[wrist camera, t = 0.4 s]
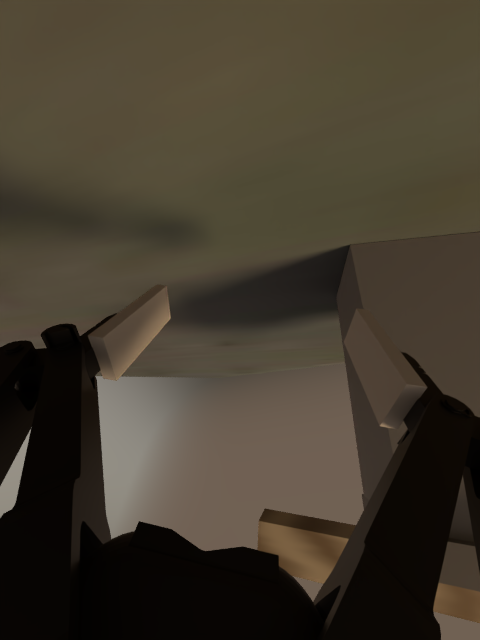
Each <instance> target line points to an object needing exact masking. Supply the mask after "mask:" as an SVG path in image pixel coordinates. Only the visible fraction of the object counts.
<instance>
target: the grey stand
mask: <svg viewBox="0 0 480 640" xmlns="http://www.w3.org/2000/svg"><path fill="white" fill-rule="evenodd" d="M336 299H337V306H338V313H339V321H340V328H341V335H342V342H343V349H344V356H345V363H346V371H347V378H348V385H349V392H350V399H351V406H352V414H353V421H354V428H355V434H356V442H357V449H358V456H359V463H360V470H361V478H362V485H363V492H364V494H362V499H363V506H364V510H365V508H366V506H367V504H368V502H369V500H370V498H371V496H372V494H373V492H374V490H375V489H376V487H377V485H378V483H379V481H380V479H381V477H382V475H383V473H384V471H385V470H386V468H387V466H388V464H389V462H390V460H391V458H392V456H393V454H394V452H395V450H396V449H397V447H398V444H397V443H398V441H399V440H400V439H401V437H402V436H403V435H404V433H405V432H406V431H407V429H408V428H407V426H406V425H405V423H404V421H403V422H402V423H401V425H400V426H399V428H398V429H393V428H387V427H381V426H379V423H378V421H377V419H376V416H375V414H374V412H373V409H372V407H371V405H370V402H369V400H368V398H367V395H366V393H365V391H364V388H363V386H362V384H361V381H360V379H359V377H358V374H357V372H356V370H355V367H354V365H353V363H352V360H351V358H350V356H349V353H348V351H347V349H346V346H345V344H344V340H345V337H346V335H347V332H348V330H349V327H350V324H351V322H352V319H353V316H354V314H355V311H356V308H357V309H365V310H369V311H370V312H371V314H372V315H373V316H374V318H375V319H376V320H377V322H378V323H379V324H380V325H381V327H382V328H383V329H384V331H385V332H386V333H387V335H388V336H389V337H390V339H391V340H392V341H393V343H394V344H395V345H396V347H397V348H398V349H399V351H400V352H404V353H407V354H409V355H410V356H411V357H413V358H414V359H415V360H416V361H417V362H418V363H419V365H420V366H421V368H423V369H424V371H425V372H426V374H427V375H428V376H429V377H430V378H431V379H432V381H433V382H434V383H435V384H436V385H437V387H438V388H439V389H440V390H441V392H442V393H443V394H445V395H449V396H451V397H454V398H456V399H458V400H459V401H461V402H463V403H464V404H465V405H466V406H468V407H469V408H470V409H471V410H472V412H473V413H474V415H475V416H477V417H480V232H474V233H464V234H454V235H444V236H433V237H423V238H413V239H403V240H393V241H383V242H373V243H363V244H353V245H350V247H349V251H348V255H347V259H346V262H345V266H344V270H343V274H342V277H341V281H340V285H339V289H338V293H337V296H336ZM439 583H443V584H447V585H452V586H456V587H461V588H465V589H469V590H474V591H478V592H480V573H479V567H478V561H477V555H476V549H475V543H474V538H473V532H472V526H471V520H470V514H469V509H468V503H467V497H466V491H465V485H464V480H463V476H462V480H461V485H460V489H459V494H458V498H457V503H456V507H455V512H454V516H453V521H452V525H451V530H450V534H449V539H448V543H447V548H446V552H445V557H444V561H443V566H442V570H441V575H440V579H439Z"/></svg>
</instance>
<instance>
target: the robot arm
mask: <svg viewBox="0 0 480 640" xmlns="http://www.w3.org/2000/svg"><path fill="white" fill-rule="evenodd" d="M170 319H171V316H170V308H169V299H168V291H167V286H166V285H158V284H157V285H155V286H154V287H153V288H151V289H150V290H149V291H147V292H146V293H145V294H143V295H142V296H140V297H139V298H138V299H136V300H135V301H134V302H132V303H131V304H130V305H128V306H127V307H126V308H124V309H123V310H122V311H120V312H119V313H118V314H117V313H116V314H113V315H111V316H108V317H106V318H105V319H104V320H102V321H101V323H98V324H97V325H95V326H94V327H93V328H91V329H90V330H88V331H87V332H86V333H84V334H83V335H81V336H79V333H78V331H77V328H76V326H75V325H73V324H59V325H56V326H52V327H50V328H48V329H46V330H45V331H43V332H42V333H41V337H42V339H43V341H44V343H45V345H46V347H47V348H43V349H35V348H34V346H33V344H32V342H30V341H17V342H16V341H15V342H11V343H8V344H6V345H4V346H2V347H0V485H1V484H2V482H3V480H4V478H5V476H6V474H7V472H8V470H9V469H10V467H11V465H12V463H13V461H14V459H15V457H16V455H17V453H18V452H19V450H20V448H21V446H22V444H23V442H24V440H25V438H26V436H27V434H28V433H29V430H30V429H31V433H30V437H29V443H28V447H27V452H26V456H25V461H24V466H23V471H22V476H21V480H20V485H19V490H18V495H17V500H16V503H15V506H14V507H13V509H12V510H10V511H8V512H6V513H4V514H3V515H2V517H1V518H0V640H441V632H440V625H439V623H438V622H437V620H436V619H435V617H434V614H433V608H434V602H435V597H436V593H437V588H438V584H439V579H440V575H441V570H442V566H443V561H444V557H445V552H446V548H447V543H448V539H449V534H450V530H451V525H452V521H453V516H454V512H455V507H456V503H457V498H458V494H459V489H460V485H461V480H462V476H463V480H464V485H465V491H466V497H467V503H468V509H469V514H470V520H471V526H472V532H473V538H474V543H475V549H476V555H477V561H478V567H479V573H480V417H477V416H475V415H474V413H473V412H472V410H471V409H470V408H469V407H468V406H466V405H465V404H464V403H463V402H461V401H459V400H458V399H456V398H454V397H451V396H449V395H445V394H443V393H442V392H441V390H440V389H439V388H438V387H437V385H436V384H435V383H434V382H433V381H432V379H431V378H430V377H429V376H428V375H427V374H426V372H425V371H424V369H423V368H421V366H420V365H419V363H418V362H417V361H416V360H415V359H414V358H413V357H411V356H410V355H409V354H407V353H404V352H400V351H399V349H398V348H397V347H396V345H395V344H394V343H393V341H392V340H391V339H390V337H389V336H388V335H387V333H386V332H385V331H384V329H383V328H382V327H381V325H380V324H379V323H378V322H377V320H376V319H375V318H374V316H373V315H372V314H371V312H370V311H369V310H365V309H357V308H356V311H355V314H354V316H353V319H352V322H351V324H350V327H349V330H348V332H347V335H346V337H345V340H344V344H345V346H346V349H347V351H348V353H349V356H350V358H351V360H352V363H353V365H354V367H355V370H356V372H357V374H358V377H359V379H360V381H361V384H362V386H363V388H364V391H365V393H366V395H367V398H368V400H369V402H370V405H371V407H372V409H373V412H374V414H375V416H376V419H377V421H378V423H379V426H381V427H387V428H393V429H398V428H399V426H400V425H401V423H402V422H403V421H404V423H405V425H406V426H407V428H408V429H407V431H406V432H405V433H404V435H403V436H402V437H401V439H400V440H399V441H398V443H397V444H398V447H397V449H396V450H395V452H394V454H393V456H392V458H391V460H390V462H389V464H388V466H387V468H386V470H385V471H384V473H383V475H382V477H381V479H380V481H379V483H378V485H377V487H376V489H375V490H374V492H373V494H372V496H371V498H370V500H369V502H368V504H367V506H366V508H365V510H364V511H363V513H362V515H361V517H360V519H359V521H358V523H357V525H356V527H355V529H354V531H353V532H352V534H351V536H350V538H349V540H348V542H347V544H346V546H345V548H344V550H343V552H342V553H341V555H340V557H339V559H338V561H337V563H336V565H335V567H334V568H333V570H332V572H331V574H330V575H329V577H328V578H327V580H326V581H325V583H324V584H323V586H322V587H321V589H320V591H319V593H318V594H317V596H316V598H315V600H314V602H312V600H311V598H310V597H309V596H308V594H307V593H306V591H305V590H304V589H303V587H302V586H301V585H300V584H299V583H298V582H297V581H296V580H295V579H294V577H292V576H291V575H290V574H289V573H288V572H287V571H286V570H284V569H283V568H281V567H280V566H279V555H275V554H271V553H267V552H263V551H259V550H255V549H251V548H247V547H236V548H228V549H220V550H212V551H203V550H201V549H199V548H198V547H196V546H195V545H193V544H192V543H190V542H189V541H188V540H186V539H185V538H183V537H182V536H180V535H179V534H177V533H176V532H175V531H173V530H172V529H168V528H164V527H160V526H156V525H152V524H148V523H143V522H140V521H139V523H138V525H137V527H136V530H135V531H134V532H130V533H126V534H122V535H120V536H118V537H116V538H113V539H111V535H110V529H109V526H108V522H107V517H106V510H105V496H104V480H103V465H102V451H101V435H100V420H99V406H98V392H97V380H96V377H95V375H96V374H97V373H98V372H99V371H101V373H102V376H103V378H104V379H110V380H116V381H117V380H118V379H119V378H120V376H121V375H122V374H123V373H124V372H125V371H126V369H127V368H128V367H129V366H130V365H131V364H132V363H133V361H134V360H135V359H136V358H137V357H138V356H139V355H140V353H141V352H142V351H143V350H144V349H145V348H146V346H147V345H148V344H149V343H150V342H151V341H152V340H153V338H154V337H155V336H156V335H157V334H158V333H159V331H160V330H161V329H162V328H163V327H164V326H165V325H166V323H167V322H168V321H169V320H170ZM31 427H32V428H31Z"/></svg>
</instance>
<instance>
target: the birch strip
mask: <svg viewBox="0 0 480 640" xmlns="http://www.w3.org/2000/svg"><path fill="white" fill-rule="evenodd" d="M355 527H356V525H351V524H346V523H340V522H335V521H329V520H324V519H319V518H313V517H308V516H302V515H296V514H291V513H286V512H281V511H275V510H269V509H264V512H263V513H262V516H261V517H260V519H259V527H258V528H259V529H258V550H259V551H263V552H267V553H271V554H275V555H279V566H280V567H281V568H283V569H284V570H286V571H287V572H288V573H289V574H290V575H291V576H295V577H299V578H303V579H307V580H311V581H314V582H318V583H322V584H324V583H325V581H326V580H327V578H328V577H329V575H330V574H331V572H332V570H333V568H334V567H335V565H336V563H337V561H338V559H339V557H340V555H341V553H342V552H343V550H344V548H345V546H346V544H347V542H348V540H349V538H350V536H351V534H352V532H353V531H354V529H355ZM433 611H434V612H438V613H442V614H446V615H450V616H454V617H457V618H462V619H465V620H470V621H474V622H477V623H480V592H478V591H474V590H469V589H465V588H461V587H456V586H452V585H447V584H443V583H439V584H438V588H437V593H436V597H435V602H434V608H433Z"/></svg>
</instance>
